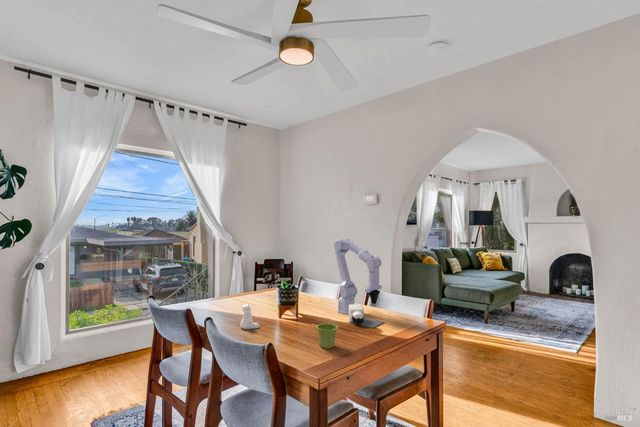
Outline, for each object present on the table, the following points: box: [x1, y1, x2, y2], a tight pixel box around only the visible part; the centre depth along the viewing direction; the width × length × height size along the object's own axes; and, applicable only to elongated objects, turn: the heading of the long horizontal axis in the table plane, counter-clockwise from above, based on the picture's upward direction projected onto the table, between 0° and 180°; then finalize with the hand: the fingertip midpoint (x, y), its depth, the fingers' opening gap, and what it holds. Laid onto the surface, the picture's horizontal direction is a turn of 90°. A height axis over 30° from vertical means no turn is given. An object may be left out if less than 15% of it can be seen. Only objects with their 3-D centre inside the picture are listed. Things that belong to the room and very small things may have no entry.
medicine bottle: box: [348, 303, 365, 326], centre depth 188 cm, size 7×7×12 cm
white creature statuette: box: [239, 303, 260, 330], centre depth 180 cm, size 10×9×12 cm
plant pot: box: [316, 323, 339, 349], centre depth 153 cm, size 9×9×9 cm
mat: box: [348, 317, 385, 329], centre depth 188 cm, size 15×12×1 cm
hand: (373, 303), depth 194 cm, fingers closed
